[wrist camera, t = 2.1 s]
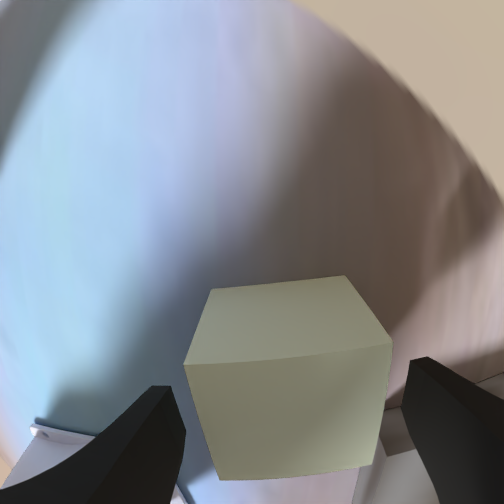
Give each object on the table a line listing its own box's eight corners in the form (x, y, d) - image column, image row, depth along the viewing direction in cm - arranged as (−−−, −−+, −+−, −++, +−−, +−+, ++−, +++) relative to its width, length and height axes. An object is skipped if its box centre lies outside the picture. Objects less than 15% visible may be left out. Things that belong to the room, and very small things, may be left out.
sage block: (230, 391, 13) (219, 480, 8) (211, 288, 12) (183, 364, 7) (343, 379, 13) (371, 464, 8) (344, 274, 12) (393, 342, 7)
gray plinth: (351, 503, 16) (358, 536, 13) (370, 413, 13) (387, 457, 10) (470, 465, 15) (484, 491, 13) (515, 367, 13) (541, 393, 10)
